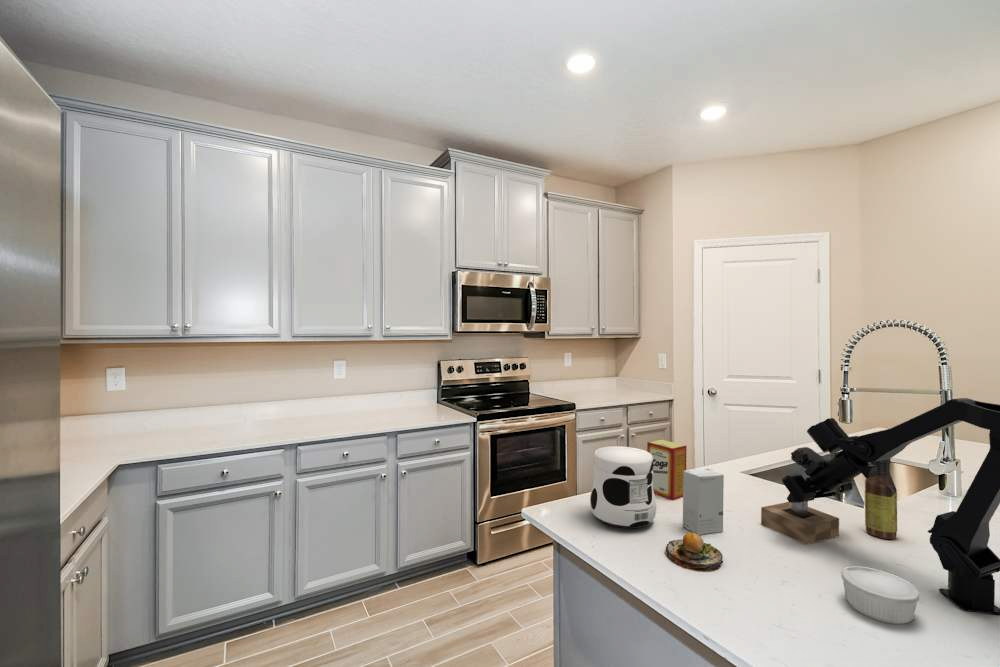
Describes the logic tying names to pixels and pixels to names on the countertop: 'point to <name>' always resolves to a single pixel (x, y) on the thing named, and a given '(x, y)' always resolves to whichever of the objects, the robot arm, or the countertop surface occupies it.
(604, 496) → the milk container
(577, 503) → the countertop surface
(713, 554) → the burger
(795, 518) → the wooden peg base
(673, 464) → the baking soda box
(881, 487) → the sauce bottle
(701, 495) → the skincare box
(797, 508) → the grey cylinder
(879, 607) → the ramekin
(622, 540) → the countertop surface
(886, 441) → the robot arm
